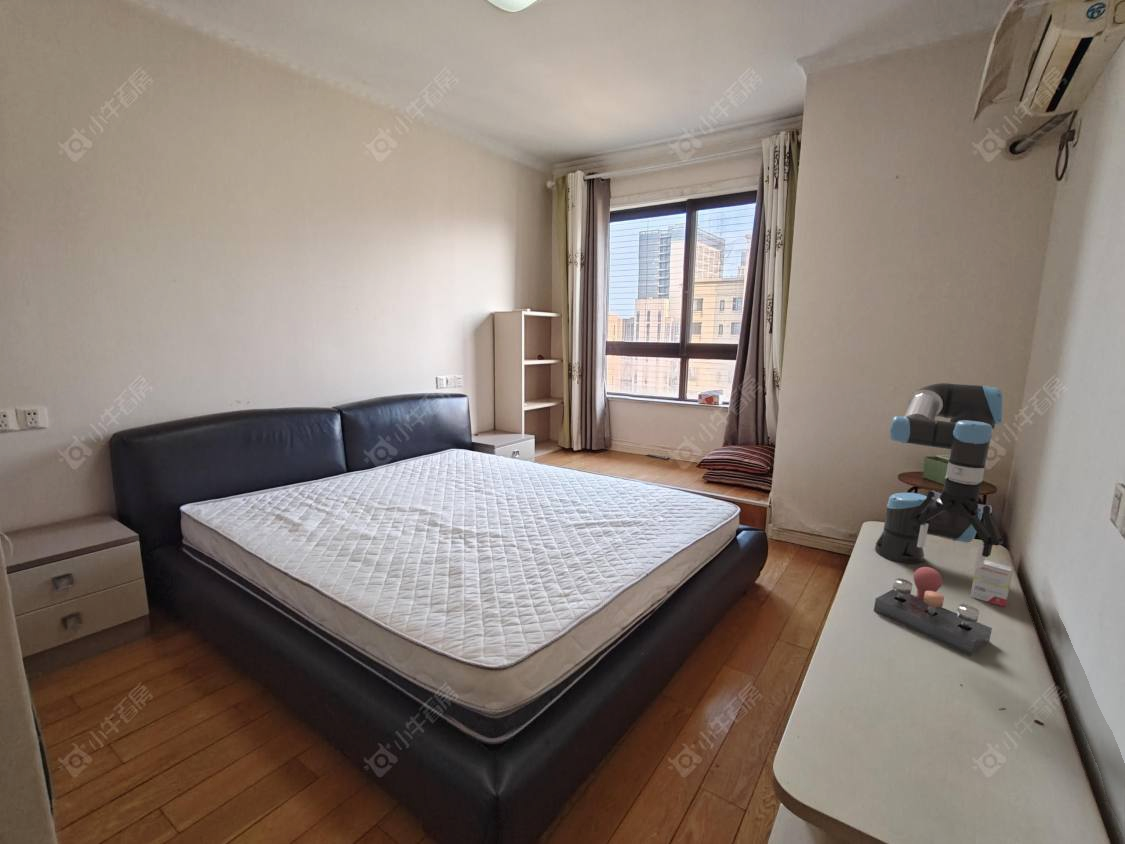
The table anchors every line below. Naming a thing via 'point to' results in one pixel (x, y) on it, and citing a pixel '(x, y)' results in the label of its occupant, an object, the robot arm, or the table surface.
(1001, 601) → the ink box
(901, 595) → the knob
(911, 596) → the mount plate
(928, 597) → the knob
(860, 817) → the table surface
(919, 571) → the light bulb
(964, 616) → the knob
